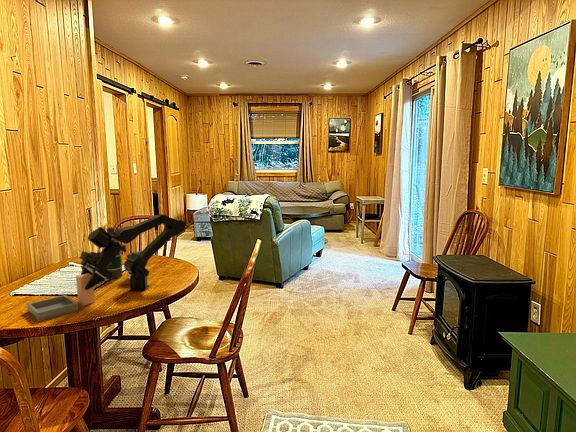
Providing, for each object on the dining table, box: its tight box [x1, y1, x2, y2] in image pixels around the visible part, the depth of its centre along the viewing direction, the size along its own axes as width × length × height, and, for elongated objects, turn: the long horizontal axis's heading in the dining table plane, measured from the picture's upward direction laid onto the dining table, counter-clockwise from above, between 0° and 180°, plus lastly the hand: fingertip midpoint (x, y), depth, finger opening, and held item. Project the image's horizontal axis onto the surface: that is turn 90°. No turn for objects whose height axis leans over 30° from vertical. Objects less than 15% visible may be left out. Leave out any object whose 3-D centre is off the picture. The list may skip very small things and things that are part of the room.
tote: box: [26, 294, 79, 322], centre depth 148 cm, size 13×13×3 cm
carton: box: [75, 273, 96, 306], centre depth 156 cm, size 5×5×11 cm
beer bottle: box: [105, 227, 123, 280], centre depth 188 cm, size 8×8×24 cm
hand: (81, 287), depth 155 cm, fingers open, 8 cm apart
